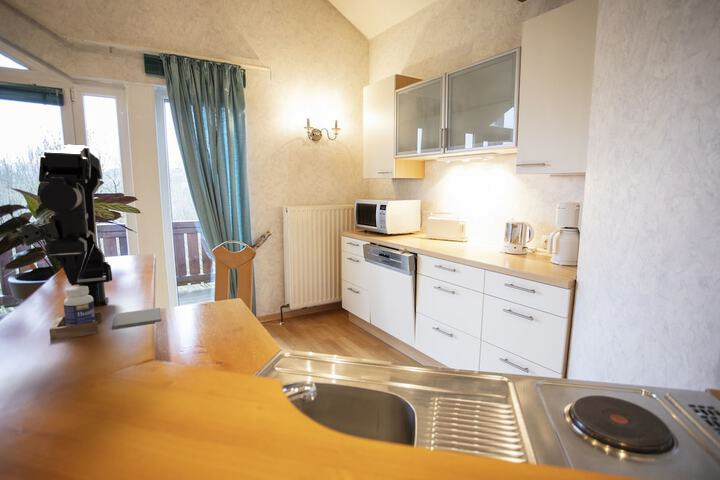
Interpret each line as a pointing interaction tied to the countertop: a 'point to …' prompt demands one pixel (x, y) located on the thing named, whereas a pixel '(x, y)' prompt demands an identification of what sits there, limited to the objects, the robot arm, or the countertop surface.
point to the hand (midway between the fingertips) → (76, 279)
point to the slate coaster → (136, 318)
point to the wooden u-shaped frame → (74, 328)
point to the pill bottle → (78, 306)
